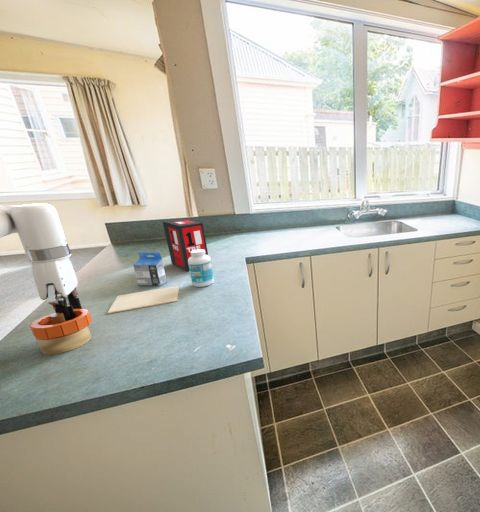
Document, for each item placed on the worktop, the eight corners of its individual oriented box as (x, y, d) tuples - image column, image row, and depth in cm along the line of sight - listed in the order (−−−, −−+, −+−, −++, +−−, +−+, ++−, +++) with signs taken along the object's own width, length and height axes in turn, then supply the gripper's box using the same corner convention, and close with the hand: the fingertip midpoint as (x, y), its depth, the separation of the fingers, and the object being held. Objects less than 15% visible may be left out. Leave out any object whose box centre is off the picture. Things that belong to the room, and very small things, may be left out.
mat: (107, 314, 92) (107, 312, 92) (118, 296, 103) (117, 295, 103) (176, 301, 101) (176, 300, 101) (179, 286, 112) (179, 285, 112)
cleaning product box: (172, 264, 136) (162, 221, 130) (192, 259, 143) (184, 218, 137) (189, 271, 127) (179, 226, 121) (210, 266, 134) (202, 222, 128)
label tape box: (137, 285, 112) (129, 255, 109) (145, 281, 116) (138, 251, 113) (160, 286, 112) (153, 255, 109) (168, 282, 116) (161, 252, 113)
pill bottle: (187, 285, 113) (181, 252, 109) (204, 279, 120) (198, 247, 116) (202, 288, 111) (196, 254, 107) (219, 281, 117) (213, 249, 113)
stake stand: (33, 359, 71) (21, 328, 69) (50, 339, 79) (39, 311, 76) (85, 347, 76) (75, 318, 73) (95, 330, 83) (87, 303, 81)
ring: (25, 343, 70) (21, 332, 69) (45, 324, 79) (41, 314, 78) (84, 331, 75) (80, 321, 74) (96, 315, 84) (93, 305, 83)
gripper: (42, 246, 81) (64, 306, 87) (9, 265, 67) (38, 334, 73) (80, 243, 85) (98, 300, 90) (56, 260, 71) (79, 326, 76)
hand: (71, 315), depth 81 cm, fingers open, 4 cm apart
